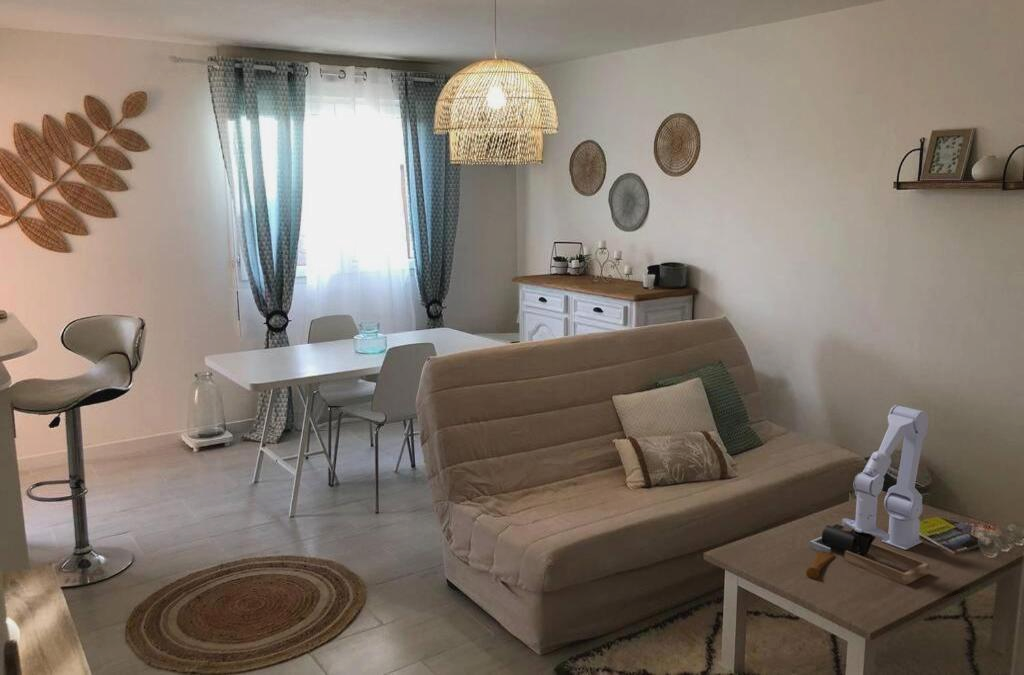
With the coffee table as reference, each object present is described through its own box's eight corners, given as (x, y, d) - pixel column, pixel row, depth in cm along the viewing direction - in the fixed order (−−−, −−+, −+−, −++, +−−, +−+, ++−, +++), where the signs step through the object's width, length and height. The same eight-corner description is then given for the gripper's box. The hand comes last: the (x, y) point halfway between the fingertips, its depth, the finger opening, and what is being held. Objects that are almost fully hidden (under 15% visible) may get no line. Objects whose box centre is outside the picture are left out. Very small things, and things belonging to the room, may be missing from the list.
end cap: (820, 548, 259) (821, 527, 258) (831, 541, 264) (833, 521, 263) (851, 558, 252) (853, 537, 251) (862, 551, 257) (864, 530, 256)
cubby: (867, 550, 257) (868, 541, 257) (928, 573, 242) (929, 563, 241) (844, 560, 251) (844, 551, 250) (905, 585, 235) (906, 575, 234)
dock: (834, 536, 267) (834, 531, 267) (853, 544, 262) (854, 538, 261) (809, 547, 260) (809, 541, 260) (828, 555, 255) (828, 549, 254)
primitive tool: (816, 552, 257) (817, 542, 257) (835, 556, 255) (836, 545, 254) (804, 578, 241) (805, 567, 240) (824, 582, 238) (825, 571, 238)
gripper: (836, 508, 253) (834, 550, 256) (880, 523, 241) (878, 567, 244) (850, 503, 257) (848, 544, 259) (894, 517, 245) (891, 560, 248)
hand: (863, 555), depth 252 cm, fingers closed
